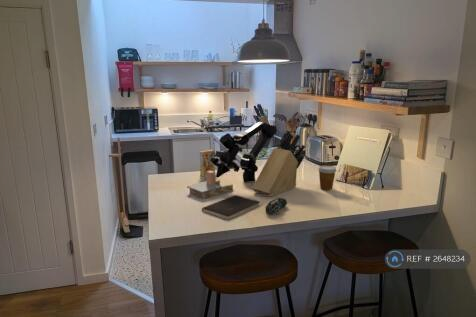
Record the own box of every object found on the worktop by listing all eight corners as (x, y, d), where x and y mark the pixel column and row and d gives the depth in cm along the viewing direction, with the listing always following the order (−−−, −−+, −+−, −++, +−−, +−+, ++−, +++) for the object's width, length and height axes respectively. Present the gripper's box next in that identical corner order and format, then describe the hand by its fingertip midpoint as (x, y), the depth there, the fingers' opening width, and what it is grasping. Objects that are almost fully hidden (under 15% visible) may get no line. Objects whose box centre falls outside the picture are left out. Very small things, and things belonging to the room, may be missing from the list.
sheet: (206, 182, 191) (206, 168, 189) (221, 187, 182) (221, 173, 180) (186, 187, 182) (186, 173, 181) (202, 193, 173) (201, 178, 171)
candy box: (211, 172, 223) (211, 149, 219) (215, 174, 219) (215, 150, 216) (200, 175, 217) (199, 151, 214) (203, 176, 214) (203, 152, 210)
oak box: (218, 185, 197) (218, 180, 196) (232, 189, 189) (232, 184, 188) (189, 193, 184) (189, 187, 183) (203, 198, 175) (203, 192, 175)
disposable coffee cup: (336, 187, 193) (337, 166, 190) (333, 192, 184) (334, 170, 182) (319, 185, 197) (320, 164, 194) (315, 190, 188) (316, 168, 185)
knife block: (305, 183, 200) (307, 130, 193) (268, 198, 175) (269, 138, 168) (289, 179, 208) (290, 128, 201) (251, 193, 182) (251, 135, 175)
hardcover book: (259, 206, 166) (259, 201, 166) (228, 221, 149) (228, 216, 149) (234, 198, 176) (234, 194, 176) (201, 212, 159) (201, 207, 159)
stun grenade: (279, 206, 166) (263, 215, 155) (278, 193, 165) (262, 201, 154) (290, 208, 163) (275, 217, 152) (290, 195, 162) (274, 203, 151)
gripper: (212, 142, 193) (197, 165, 188) (235, 147, 180) (219, 172, 175) (223, 154, 200) (209, 176, 196) (246, 159, 187) (231, 183, 182)
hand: (216, 177), depth 187 cm, fingers closed
